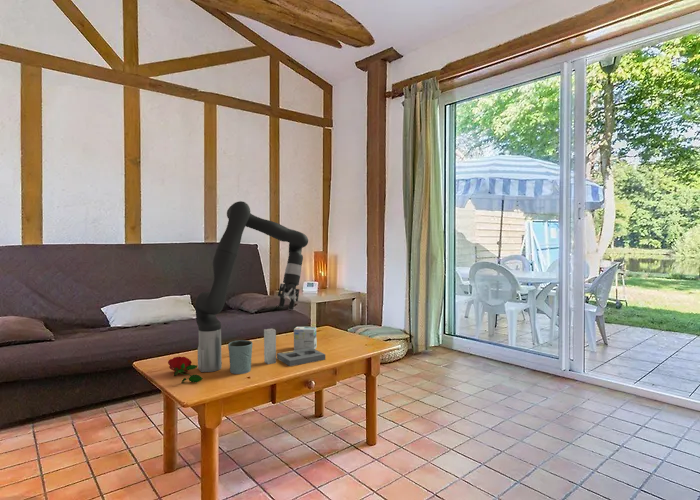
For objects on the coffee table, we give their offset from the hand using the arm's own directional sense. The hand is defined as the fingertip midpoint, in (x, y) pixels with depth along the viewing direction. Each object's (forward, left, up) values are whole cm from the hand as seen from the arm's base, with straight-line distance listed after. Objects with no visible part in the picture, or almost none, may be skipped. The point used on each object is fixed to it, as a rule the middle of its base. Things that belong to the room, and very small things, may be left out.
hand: (286, 308), depth 199 cm
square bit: (-9, -2, -24) cm, 25 cm away
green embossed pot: (-24, -6, -24) cm, 34 cm away
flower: (-45, -4, -24) cm, 52 cm away
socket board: (+5, -5, -23) cm, 25 cm away
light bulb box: (+15, +10, -24) cm, 30 cm away
